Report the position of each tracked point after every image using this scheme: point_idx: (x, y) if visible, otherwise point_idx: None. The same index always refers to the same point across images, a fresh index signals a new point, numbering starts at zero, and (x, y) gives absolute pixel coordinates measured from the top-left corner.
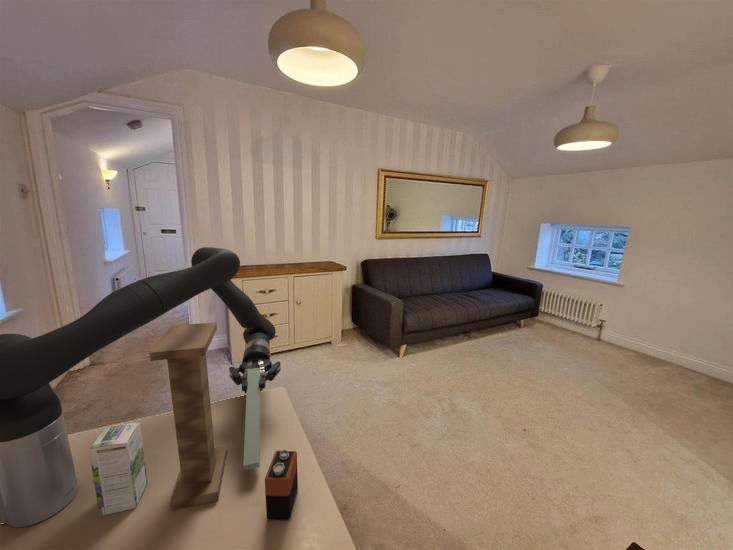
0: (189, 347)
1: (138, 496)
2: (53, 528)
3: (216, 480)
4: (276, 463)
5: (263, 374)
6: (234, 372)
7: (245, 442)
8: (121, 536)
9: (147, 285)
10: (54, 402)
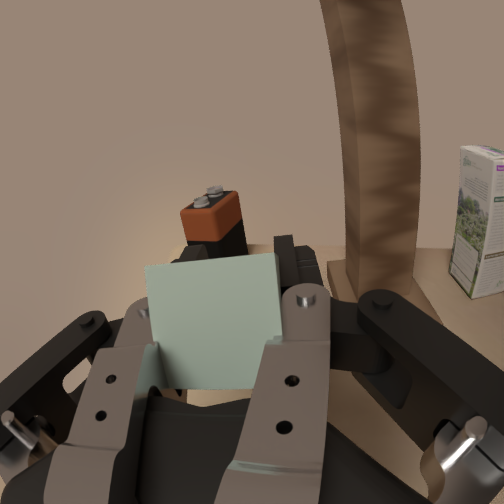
0: None
1: (454, 267)
2: None
3: (337, 274)
4: (217, 198)
5: (147, 299)
6: (445, 343)
7: None
8: (432, 252)
9: None
10: None
